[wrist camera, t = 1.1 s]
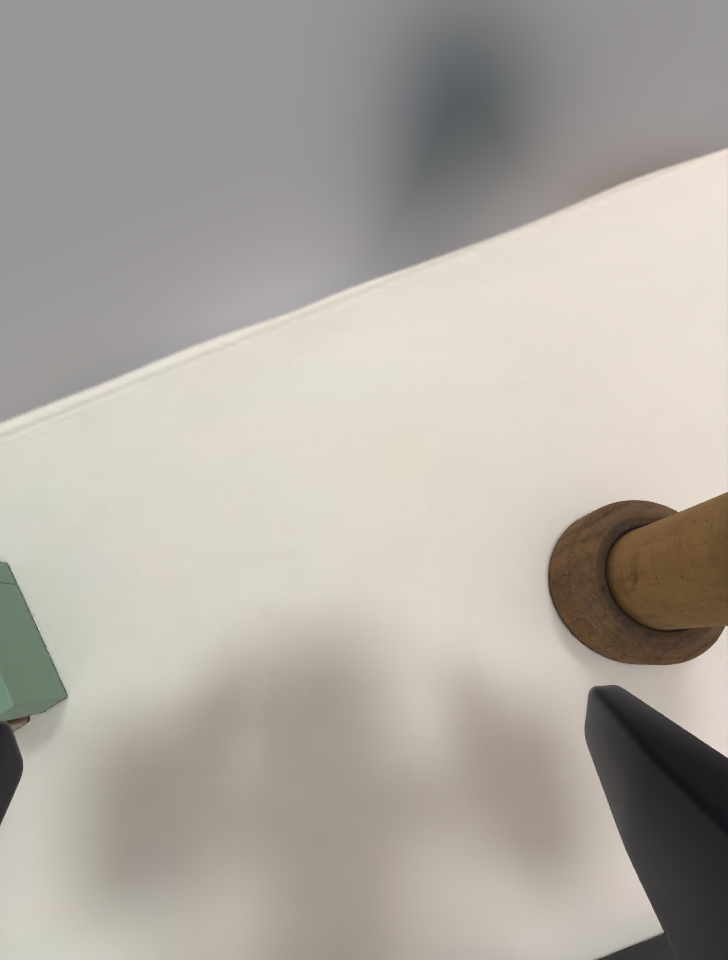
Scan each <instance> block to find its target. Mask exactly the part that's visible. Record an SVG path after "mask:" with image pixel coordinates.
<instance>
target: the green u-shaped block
mask: <svg viewBox="0 0 728 960" xmlns="http://www.w3.org/2000/svg"><path fill="white" fill-rule="evenodd" d="M66 697H67V694H66V692H65V690H64V687H63V685H62V683H61V681H60V679H59V676H58V674H57V672H56V670H55V668H54V665H53V663H52V661H51V659H50V657H49V654H48V652H47V650H46V648H45V645H44V643H43V641H42V639H41V637H40V634H39V632H38V630H37V628H36V626H35V623H34V621H33V619H32V617H31V615H30V612H29V610H28V608H27V606H26V603H25V601H24V599H23V597H22V595H21V592H20V590H19V588H18V586H17V585H16V582H15V579H14V577H13V575H12V573H11V571H10V568H9V566H8V564H7V563H5V562H0V721H7V720H12V719H16V718H21V717H25V716H30V715H35V714H39V713H43V712H44V711H46V710H47V709H49V708H50V707H52V706H54V705H55V704H57V703H58V702H60V701H61V700H63V699H65V698H66Z"/></svg>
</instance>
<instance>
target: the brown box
mask: <svg viewBox="0 0 728 960" xmlns="http://www.w3.org/2000/svg"><path fill="white" fill-rule="evenodd" d="M5 722H7V723H8V724H10V725H11V727H12V730H13V731H14V730H16V729H17V728H19V727H20V726H22V725H24V724H25V723H27V722H28V717H27V716H25V717H21V718H16V719H12V720H7V721H5Z"/></svg>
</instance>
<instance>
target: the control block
mask: <svg viewBox="0 0 728 960" xmlns="http://www.w3.org/2000/svg"><path fill="white" fill-rule="evenodd" d="M600 960H677V958H676V956H675V953H674V951H673V949H672V947H671V945H670V943H669V941H668V939H667V937H666V934H663V935H660V936H658V937H655V938H653V939H650V940H648V941H645V942H643V943H640V944H638V945H635V946H633V947H630V948H628V949H625V950H623V951H620V952H618V953H615V954H613V955H610V956H608V957H605V958H603V959H600Z"/></svg>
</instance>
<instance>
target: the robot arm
mask: <svg viewBox="0 0 728 960" xmlns="http://www.w3.org/2000/svg"><path fill="white" fill-rule="evenodd" d="M585 738H586V742H587V745H588V748H589V751H590V754H591V757H592V759H593V762H594V765H595V768H596V770H597V773H598V776H599V779H600V781H601V784H602V787H603V790H604V792H605V795H606V798H607V801H608V803H609V806H610V809H611V812H612V814H613V817H614V820H615V823H616V825H617V828H618V831H619V834H620V836H621V839H622V841H623V844H624V846H625V849H626V851H627V853H628V856H629V858H630V860H631V862H632V865H633V867H634V869H635V871H636V873H637V875H638V878H639V880H640V882H641V884H642V886H643V888H644V890H645V892H646V894H647V896H648V899H649V901H650V903H651V905H652V907H653V909H654V911H655V913H656V915H657V918H658V920H659V922H660V924H661V926H662V928H663V930H664V932H665V934H666V937H667V939H668V941H669V943H670V945H671V947H672V949H673V951H674V953H675V956H676V958H677V960H728V758H727V757H725V756H724V755H722V754H721V753H719V752H718V751H716V750H715V749H713V748H712V747H710V746H709V745H707V744H706V743H704V742H703V741H701V740H700V739H698V738H697V737H695V736H694V735H692V734H691V733H689V732H688V731H686V730H685V729H683V728H682V727H680V726H679V725H677V724H676V723H674V722H673V721H671V720H670V719H668V718H667V717H665V716H664V715H662V714H661V713H659V712H658V711H656V710H655V709H653V708H652V707H650V706H649V705H647V704H646V703H644V702H643V701H641V700H640V699H638V698H637V697H635V696H634V695H632V694H631V693H629V692H628V691H626V690H625V689H623V688H621V687H619V686H616V685H609V686H595V687H592V688H591V689H590V691H589V694H588V702H587V710H586V719H585ZM22 772H23V759H22V756H21V753H20V750H19V747H18V744H17V742H16V739H15V736H14V733H13V730H12V727H11V725H10V724H8V723H7V722H5V721H0V825H1V823H2V820H3V818H4V816H5V813H6V811H7V809H8V806H9V804H10V802H11V800H12V797H13V795H14V793H15V790H16V788H17V786H18V784H19V781H20V779H21V776H22Z"/></svg>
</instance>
